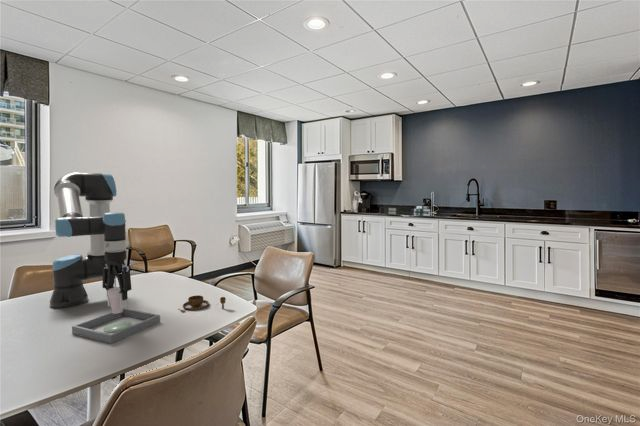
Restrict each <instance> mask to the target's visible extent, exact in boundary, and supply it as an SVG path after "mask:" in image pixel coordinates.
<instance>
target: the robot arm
mask: <svg viewBox="0 0 640 426" xmlns="http://www.w3.org/2000/svg"><path fill="white" fill-rule="evenodd" d="M53 193H54V195H55V197H56V198H57V200H58V201H57V202H58V209H59V216H60V217H58V218H56V219H55V220H54V224H55V226H54V227H55V228H54V229H55V236H57V237H59V238H62V237H63V238H70V237H79V236H82V237H83V236H89V238H90V250H89V251H87V253H86V255H87V256H83V255H82V254H71V255H65V256H62V257H61V256H60V257H58V258H56V259H54V261H53V262H52V269H51V270H52V277H53V278H52V279H53V281H52V282H53V283H52V284H53V291H52V294H51V297H50V300H49V307H50V308H52V309H53V308H54V309H55V308H56V309H61V308H62V309H64V308H72V307H75V306H79V305H82V304H85V303H87V301H88V300H89V296H88V293H87V291H86V289H85V287H84V281H86V280H87V281H88V280H93V279H101V278H102V286H101V287H102V288H103V289H105V290H106V297H107V307H111V303H110V298H109V293H108V290H109V289H111V288H115V285H114V279H115V278H116V280H117V281H118V285H119V286H118V287H120V290H121V292H119V301H120V309H122V308H127V307H128V292H129V291H132V280H131V279H132V278H131V269H132V267H131V265H126V264H125V260H127V250H126V249H127V239H126V222H127V221H126V215H125V213H124V212H117V211H116V212H115V211H114V212H111V210H110V208H111V206H110V204H111V202H113V200H114V198H115V197H117V185H116V181H115V178H114V176H113V175H112V174H110V173H104V172H103V173H102V172H98V173H97V172H95V173H94V172H71V173H68V174H65V175H64V176H61V177H60V178H58V180H57V181H56V183H55V184H54V187H53ZM80 197H84V198H85V199H84V200H85V201H86V202H87V203H88V207H89V216H83V211H82V206H81V200H80Z"/></svg>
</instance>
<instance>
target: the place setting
mask: <svg viewBox="0 0 640 426" xmlns="http://www.w3.org/2000/svg"><path fill="white" fill-rule="evenodd" d="M187 300H188V301H186V302H184V303H183V304H182V308H183V309H180V308H177V310H179V311H180V313H185V312H186V311H199V310H203V309H205V308H207V307H209V304H210V303H209V300H205V299H204V296H203V295H200V294H199V295H191V296H189V297H188V299H187ZM219 302H220V304H221V310H225V303H226V297H224V296H221V297H220V298H219ZM203 304H205V305H203ZM202 305H203V306H202ZM186 306H190V307H186Z"/></svg>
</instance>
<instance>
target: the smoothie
mask: <svg viewBox="0 0 640 426" xmlns="http://www.w3.org/2000/svg"><path fill="white" fill-rule="evenodd" d="M114 287H115V288H111V289H109V290H108V293H109V298H110V303H111V306H110V307H111V312H112V313H113V314H118V313H121V312H123V308H122V309H120V301H119V292H121V290H120V287H119V286H117V277H115V279H114Z"/></svg>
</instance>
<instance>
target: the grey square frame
mask: <svg viewBox="0 0 640 426" xmlns="http://www.w3.org/2000/svg"><path fill="white" fill-rule="evenodd" d="M122 316H125V317H129V318H134V319H140V320H142V321H140V322H138V323H135V324H133V323H132V322H129V321H120V322H119V321H118V322H114V323H111V324H109V325H108V324H107V326H105V327H104V328H103V331H99V330H95V329H92V328H94V327H96V326H99V325H101V324H105V323H107V322H110V321H112V320H115V319H117V318H119V317H120V318H121V317H122ZM160 322H161V315H160V314H157V313H151V312H147V311H142V310H137V309H132V308H127V307H125V308H123V312H121V313H118V314H113V313H112V311H111V312H108V313H105V314H103V315H100V316H96V317H94V318H91V319H89V320H85V321H82V322H80V323H77V324H74V325H71V334H72V335H76V336H80V337H84V338H88V339H92V340H96V341H99V342H103V343H106V344H110V345H112V344H114V343H116V342H119V341H121V340H123V339H125V338H127V337H129V336H131V335H134V334H136V333H138V332H141V331H143V330H145V329H147V328H149V327H152V326H153V325H157V324H158V323H160Z"/></svg>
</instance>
